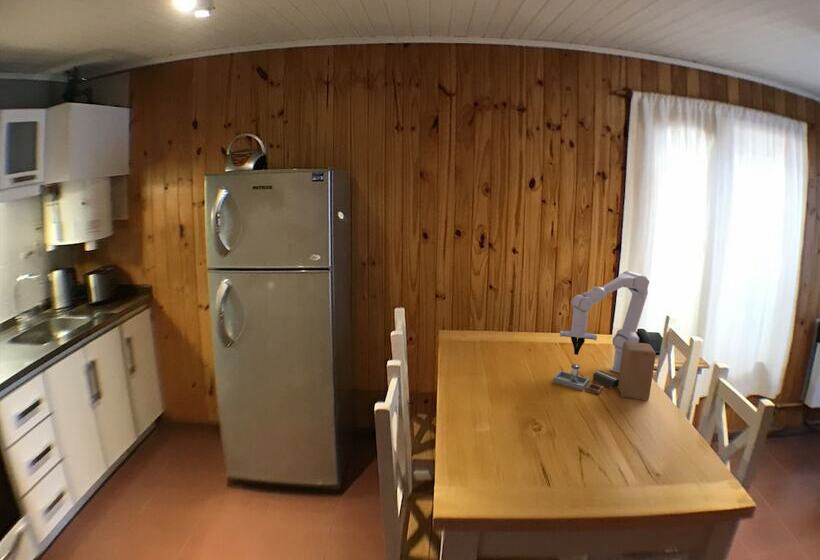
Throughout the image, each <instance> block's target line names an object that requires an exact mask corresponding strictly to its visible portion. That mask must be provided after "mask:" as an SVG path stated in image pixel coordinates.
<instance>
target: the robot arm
mask: <svg viewBox="0 0 820 560" xmlns="http://www.w3.org/2000/svg"><path fill="white" fill-rule="evenodd" d="M649 285H650V280H649V279H648V277H647V276H646V275H643V274H640V273H636V272H633V271H632V270H625V271H623V272H621V273H619V274H618V277H616V278H614V279H612V280H611V281H609V282H608V283H606V284H604V285H602V286H593V287H592V289H590V290H587V291H586V292H585V291H584V292H583V293H582V294H576V295H574V297H573V298H572V299H571V300H570V304H571V306H572V310H573V311H572V321H571V330H559V337H565V338H570V339H571V344H572V346H573V349H574V350H573V351H574V352H573V354H574V355H575V356H578V355H579V352H580V350H581V348H582V346H583V345H584V344H585V343H586V342H585V341H586V340H593V341H597V339H598V335H597V334H594V333H590V332H587V326H588V316H589V315H588V314H589V311H590V310H591V309H592V307H593V306H594V305H595V304H596V303H599V302H601V301H602V300H604V299H606V296H607V294H610V293H612V292H614V291H617V290H619V289H621V288H628V290H629V291H630V293H631V298H630V301H629V304H628V307H627V311H626V315H625V317H624V321H623V325H622V328H620V329H618V330H617V331H616V334H615V335H614V336H613V338H612V345H613V346H614V350H615V351H614V359H613V365H612V366H611V368H609V370H610V371H611V372H615V373H618V374H619V371H620V364H621V356H622V349H623V343H624V342H636V343H640V342H639V341H640V337H639V336H638V333H637V329H638V326H639V323H640V319H641V316H642V313H643V311H644V306H645V304H646V300H647V296H648V293H649V290H648V287H649Z"/></svg>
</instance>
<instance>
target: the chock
mask: <svg viewBox="0 0 820 560" xmlns="http://www.w3.org/2000/svg"><path fill="white" fill-rule="evenodd" d="M592 378H593V379H592V380H593V381H595V382H597V383H599V384H602V385H603V386H605V387H607V388H610V389H612V390H613V389H615V388H618V379H619V377H617V376H615V375H612V374H610V373H607V372H605V371H602V370H597V371H596V372H593V377H592Z"/></svg>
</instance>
